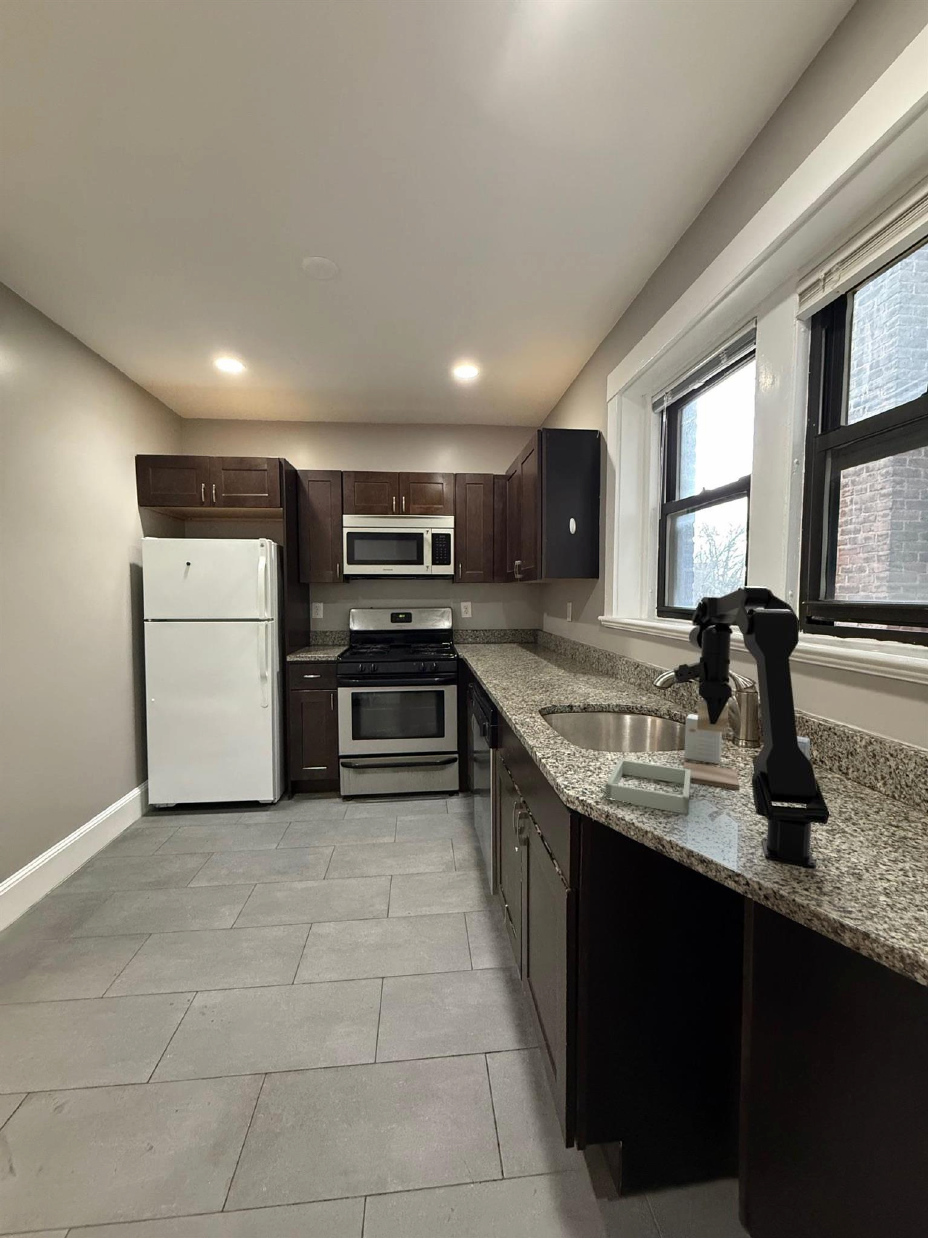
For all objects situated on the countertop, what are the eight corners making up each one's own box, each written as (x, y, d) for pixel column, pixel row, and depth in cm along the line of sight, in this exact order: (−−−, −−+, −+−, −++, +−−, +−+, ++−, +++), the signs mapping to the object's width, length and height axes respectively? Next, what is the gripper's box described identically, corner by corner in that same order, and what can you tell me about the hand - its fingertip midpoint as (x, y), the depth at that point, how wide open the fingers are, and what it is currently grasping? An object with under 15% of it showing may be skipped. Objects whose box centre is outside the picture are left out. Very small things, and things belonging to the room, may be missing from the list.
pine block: (727, 732, 110) (728, 705, 110) (697, 729, 113) (698, 702, 112) (726, 728, 114) (727, 702, 114) (697, 724, 117) (698, 699, 117)
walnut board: (739, 789, 107) (739, 785, 107) (682, 780, 111) (683, 776, 111) (736, 774, 117) (736, 769, 117) (684, 766, 121) (684, 762, 121)
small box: (721, 758, 128) (723, 717, 127) (718, 764, 123) (720, 722, 123) (687, 753, 132) (688, 713, 132) (683, 758, 127) (685, 717, 127)
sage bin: (688, 814, 94) (688, 798, 93) (605, 799, 100) (606, 784, 100) (690, 783, 110) (690, 769, 110) (618, 771, 116) (619, 759, 116)
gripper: (678, 647, 125) (675, 710, 125) (674, 654, 108) (671, 726, 108) (728, 650, 120) (726, 715, 121) (733, 657, 103) (730, 733, 104)
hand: (712, 722), depth 113 cm, fingers closed on pine block, 4 cm apart
